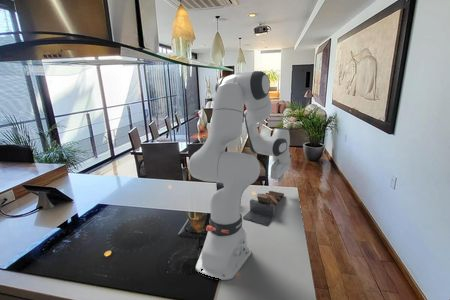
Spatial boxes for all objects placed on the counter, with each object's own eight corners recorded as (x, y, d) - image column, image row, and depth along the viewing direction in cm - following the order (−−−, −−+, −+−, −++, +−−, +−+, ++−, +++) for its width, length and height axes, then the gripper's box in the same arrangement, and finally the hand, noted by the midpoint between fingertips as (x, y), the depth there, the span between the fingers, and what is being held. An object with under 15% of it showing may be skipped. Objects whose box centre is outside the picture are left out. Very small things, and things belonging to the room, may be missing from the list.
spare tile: (268, 198, 127) (262, 193, 120) (277, 201, 125) (271, 195, 117) (267, 201, 127) (261, 196, 119) (276, 204, 124) (271, 198, 116)
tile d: (273, 208, 120) (268, 198, 113) (264, 205, 123) (258, 196, 116) (274, 205, 121) (269, 195, 114) (265, 203, 124) (260, 193, 117)
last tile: (269, 212, 117) (266, 198, 111) (260, 209, 120) (256, 195, 114) (271, 209, 118) (267, 195, 112) (261, 207, 121) (258, 193, 115)
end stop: (266, 225, 106) (266, 213, 104) (243, 218, 112) (242, 207, 111) (274, 216, 113) (274, 204, 111) (251, 210, 119) (251, 199, 118)
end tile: (283, 196, 132) (277, 195, 124) (275, 194, 135) (268, 193, 126) (284, 193, 132) (278, 192, 124) (275, 191, 135) (269, 190, 127)
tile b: (280, 200, 128) (274, 197, 120) (271, 198, 131) (265, 195, 123) (281, 197, 128) (274, 194, 120) (272, 195, 131) (265, 192, 123)
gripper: (279, 163, 119) (278, 189, 122) (292, 153, 135) (292, 175, 139) (267, 162, 122) (267, 186, 126) (282, 151, 138) (281, 174, 142)
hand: (280, 181), depth 132 cm, fingers closed
